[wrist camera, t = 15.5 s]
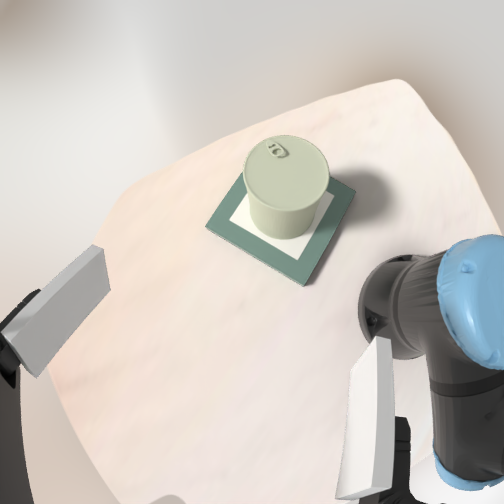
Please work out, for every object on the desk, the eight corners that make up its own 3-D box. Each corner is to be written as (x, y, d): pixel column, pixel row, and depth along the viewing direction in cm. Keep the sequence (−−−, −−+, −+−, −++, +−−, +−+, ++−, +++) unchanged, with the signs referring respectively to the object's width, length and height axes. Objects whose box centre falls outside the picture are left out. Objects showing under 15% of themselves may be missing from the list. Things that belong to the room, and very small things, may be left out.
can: (295, 169, 42) (302, 121, 30) (326, 222, 40) (347, 187, 28) (238, 195, 41) (227, 152, 30) (268, 251, 39) (267, 225, 28)
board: (353, 195, 42) (356, 191, 40) (302, 286, 40) (304, 285, 38) (263, 147, 44) (263, 141, 43) (207, 229, 42) (204, 226, 41)
